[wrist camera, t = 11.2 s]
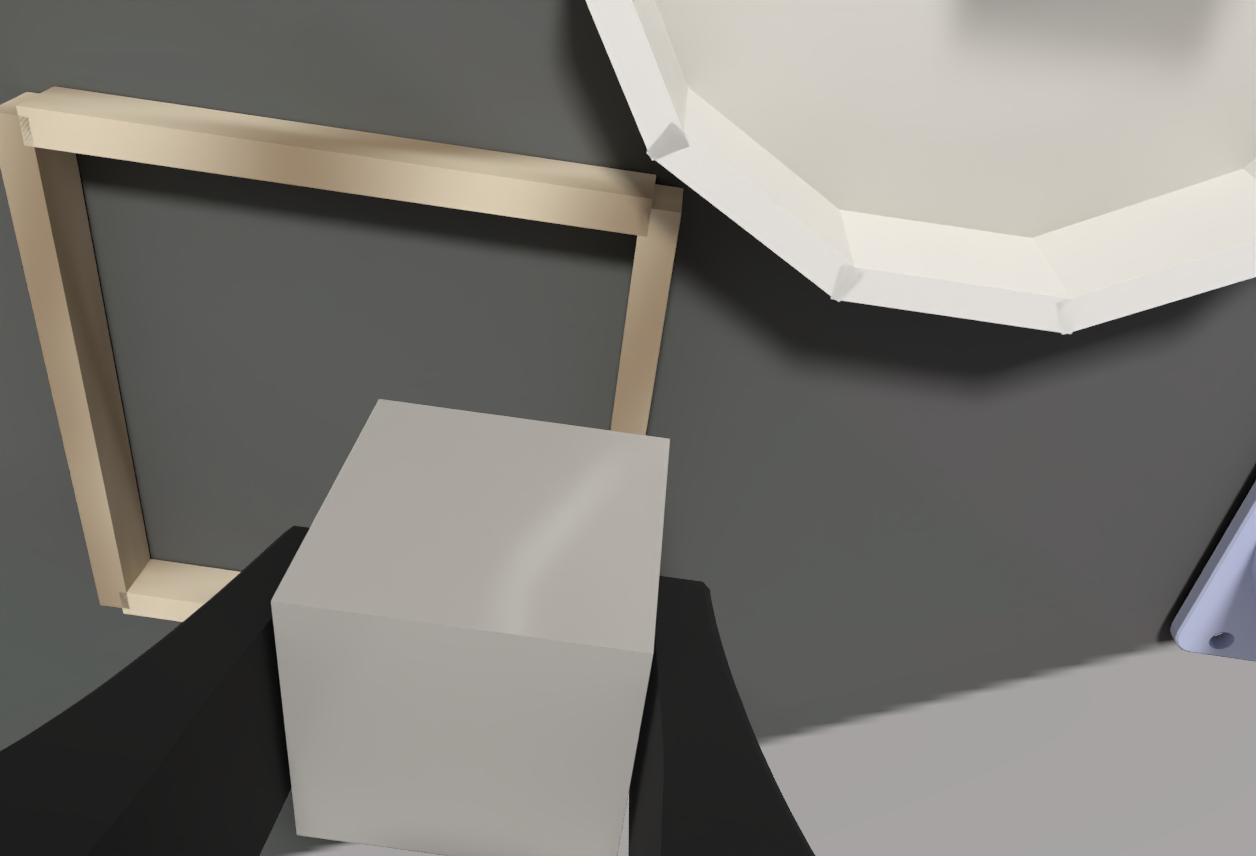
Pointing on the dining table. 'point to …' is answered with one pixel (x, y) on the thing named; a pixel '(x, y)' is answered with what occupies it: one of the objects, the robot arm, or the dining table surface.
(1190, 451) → the dining table surface
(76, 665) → the dining table surface
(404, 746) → the beige grey cube
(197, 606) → the parts frame
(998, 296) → the bowl
